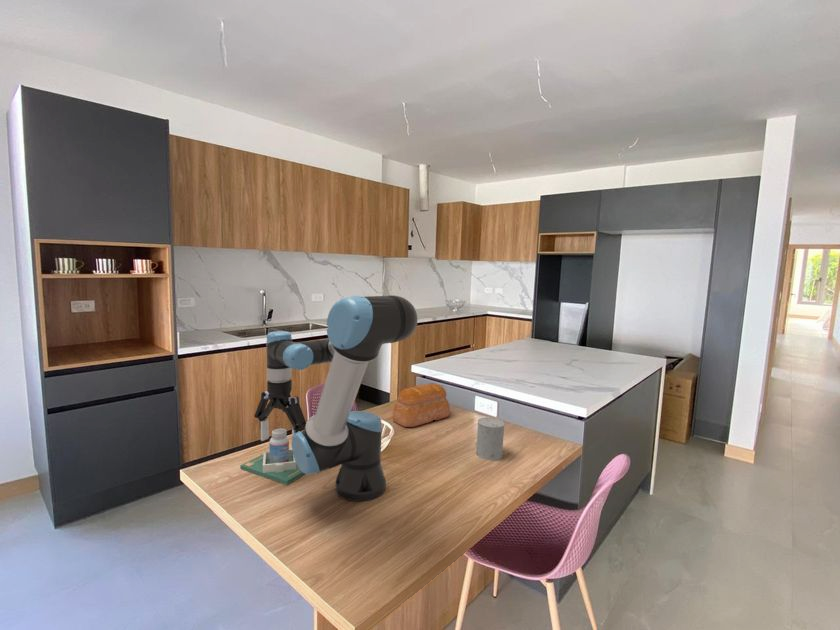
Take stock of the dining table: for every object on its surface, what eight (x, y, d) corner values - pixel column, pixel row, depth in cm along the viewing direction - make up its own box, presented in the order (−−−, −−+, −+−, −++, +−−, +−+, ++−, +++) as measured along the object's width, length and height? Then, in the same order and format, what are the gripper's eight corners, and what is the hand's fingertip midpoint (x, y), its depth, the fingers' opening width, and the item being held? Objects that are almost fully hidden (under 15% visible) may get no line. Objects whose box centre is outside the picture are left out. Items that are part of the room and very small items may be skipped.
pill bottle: (283, 469, 135) (283, 435, 134) (265, 466, 137) (265, 433, 135) (292, 460, 141) (292, 428, 140) (275, 458, 142) (275, 426, 141)
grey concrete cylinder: (473, 457, 152) (474, 424, 151) (479, 446, 161) (481, 415, 160) (499, 462, 149) (501, 429, 147) (504, 452, 157) (506, 420, 156)
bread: (453, 417, 191) (454, 384, 189) (408, 430, 174) (409, 395, 172) (432, 409, 201) (434, 378, 199) (388, 420, 184) (389, 386, 182)
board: (317, 466, 141) (317, 455, 140) (286, 485, 128) (286, 473, 128) (273, 452, 150) (273, 442, 149) (240, 468, 137) (240, 457, 137)
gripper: (317, 382, 133) (318, 447, 135) (260, 372, 144) (261, 432, 147) (301, 388, 127) (301, 456, 129) (242, 377, 138) (243, 439, 140)
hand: (280, 443), depth 138 cm, fingers open, 13 cm apart
